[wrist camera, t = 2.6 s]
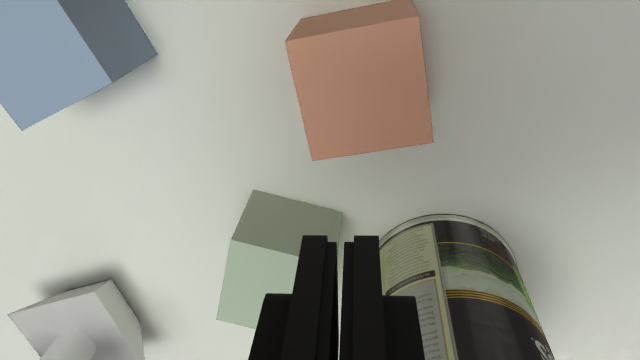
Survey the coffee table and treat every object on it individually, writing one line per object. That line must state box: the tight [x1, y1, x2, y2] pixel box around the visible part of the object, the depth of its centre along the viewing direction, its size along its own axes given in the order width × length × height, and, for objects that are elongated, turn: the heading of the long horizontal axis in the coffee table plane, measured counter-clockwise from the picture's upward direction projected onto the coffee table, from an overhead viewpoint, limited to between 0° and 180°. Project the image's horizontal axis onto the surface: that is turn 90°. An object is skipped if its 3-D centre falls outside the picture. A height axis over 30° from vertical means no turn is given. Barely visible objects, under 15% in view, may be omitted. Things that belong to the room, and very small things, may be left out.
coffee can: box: [379, 214, 555, 360], centre depth 29 cm, size 10×10×14 cm
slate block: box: [0, 0, 158, 131], centre depth 27 cm, size 6×6×6 cm
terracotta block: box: [285, 0, 434, 161], centre depth 27 cm, size 6×6×6 cm
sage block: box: [216, 190, 342, 329], centre depth 33 cm, size 6×6×6 cm
